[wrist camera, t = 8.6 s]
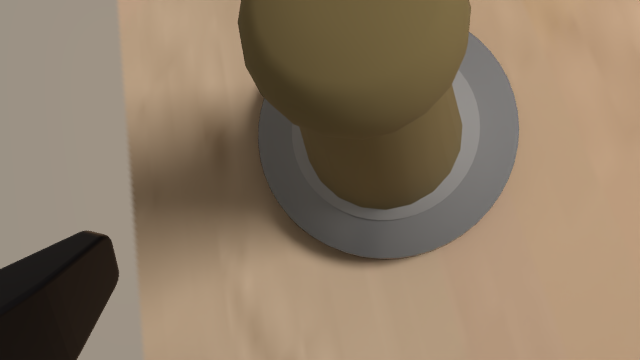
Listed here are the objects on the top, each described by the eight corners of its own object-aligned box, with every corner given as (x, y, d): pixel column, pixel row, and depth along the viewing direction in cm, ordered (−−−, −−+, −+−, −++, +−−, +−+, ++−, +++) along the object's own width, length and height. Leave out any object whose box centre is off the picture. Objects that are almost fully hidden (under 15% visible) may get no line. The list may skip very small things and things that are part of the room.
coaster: (452, 303, 21) (453, 304, 21) (223, 195, 24) (215, 192, 23) (556, 66, 22) (561, 57, 21) (326, -16, 25) (322, -27, 24)
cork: (275, 156, 23) (143, 41, 12) (359, 31, 23) (303, -190, 12) (406, 240, 21) (388, 194, 11) (493, 105, 22) (561, -73, 11)
